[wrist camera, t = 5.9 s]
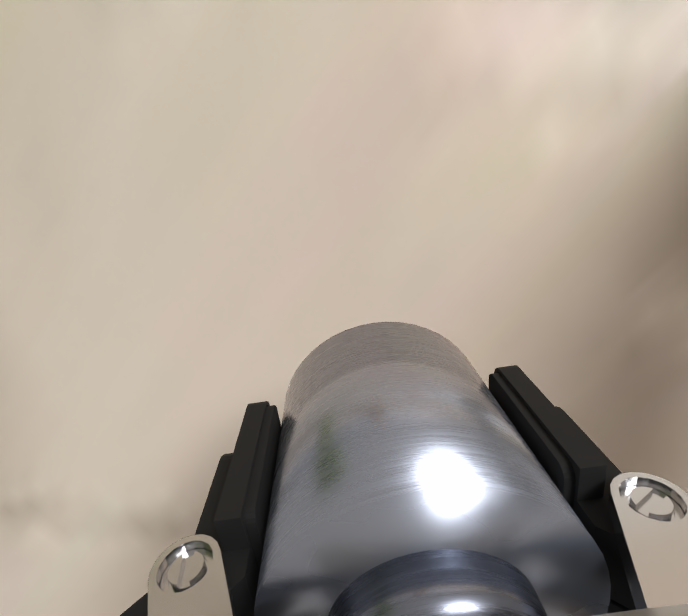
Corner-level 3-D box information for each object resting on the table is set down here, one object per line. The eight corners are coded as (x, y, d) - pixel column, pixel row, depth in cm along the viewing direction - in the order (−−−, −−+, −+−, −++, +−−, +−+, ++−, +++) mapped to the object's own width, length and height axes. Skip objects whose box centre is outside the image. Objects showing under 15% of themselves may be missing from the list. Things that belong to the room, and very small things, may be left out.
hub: (479, 308, 11) (692, 520, 5) (481, 474, 13) (630, 776, 7) (265, 338, 11) (190, 591, 5) (302, 499, 14) (284, 825, 7)
